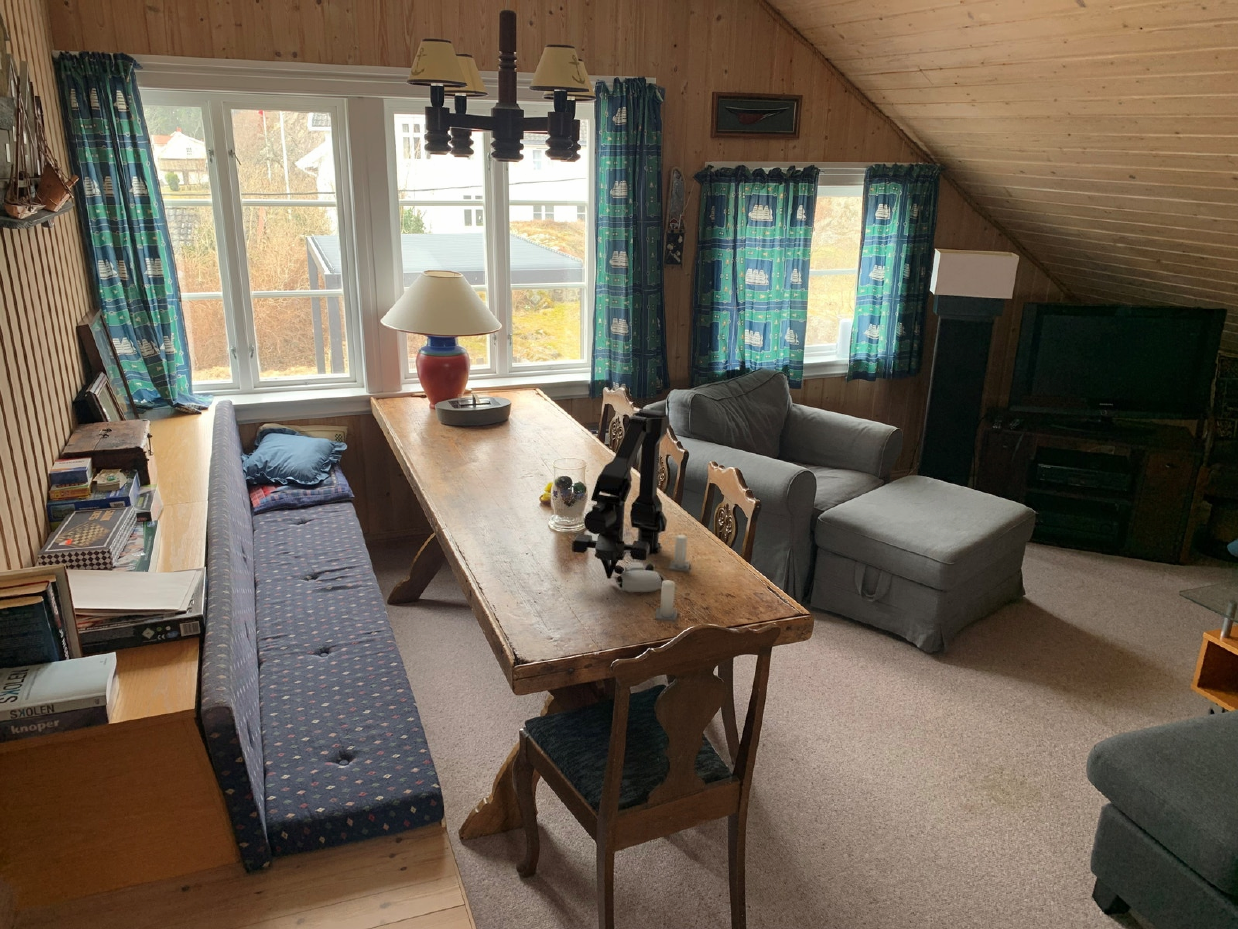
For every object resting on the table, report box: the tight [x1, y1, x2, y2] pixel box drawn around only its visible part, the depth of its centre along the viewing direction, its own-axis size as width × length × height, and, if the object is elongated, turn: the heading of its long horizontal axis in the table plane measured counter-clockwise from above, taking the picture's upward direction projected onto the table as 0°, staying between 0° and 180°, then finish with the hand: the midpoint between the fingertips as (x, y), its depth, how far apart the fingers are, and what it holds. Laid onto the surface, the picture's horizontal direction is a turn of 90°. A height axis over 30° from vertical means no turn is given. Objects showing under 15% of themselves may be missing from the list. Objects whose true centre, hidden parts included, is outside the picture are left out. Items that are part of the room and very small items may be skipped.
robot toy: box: [613, 561, 666, 594], centre depth 223 cm, size 12×4×15 cm
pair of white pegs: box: [653, 534, 691, 623], centre depth 221 cm, size 33×5×9 cm, turn 170°
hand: (609, 578), depth 224 cm, fingers closed
